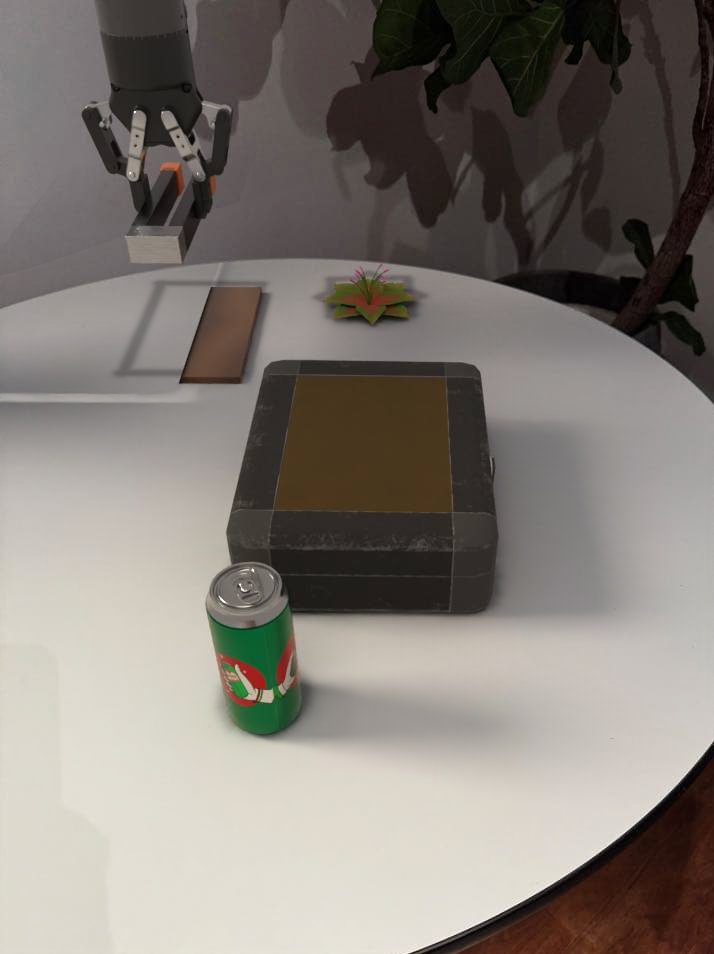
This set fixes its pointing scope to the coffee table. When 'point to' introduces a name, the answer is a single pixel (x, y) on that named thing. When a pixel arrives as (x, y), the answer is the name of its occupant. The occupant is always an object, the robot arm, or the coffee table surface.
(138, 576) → the coffee table surface
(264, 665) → the soda can
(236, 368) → the board
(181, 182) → the tongs
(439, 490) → the cash box
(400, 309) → the lily flower
